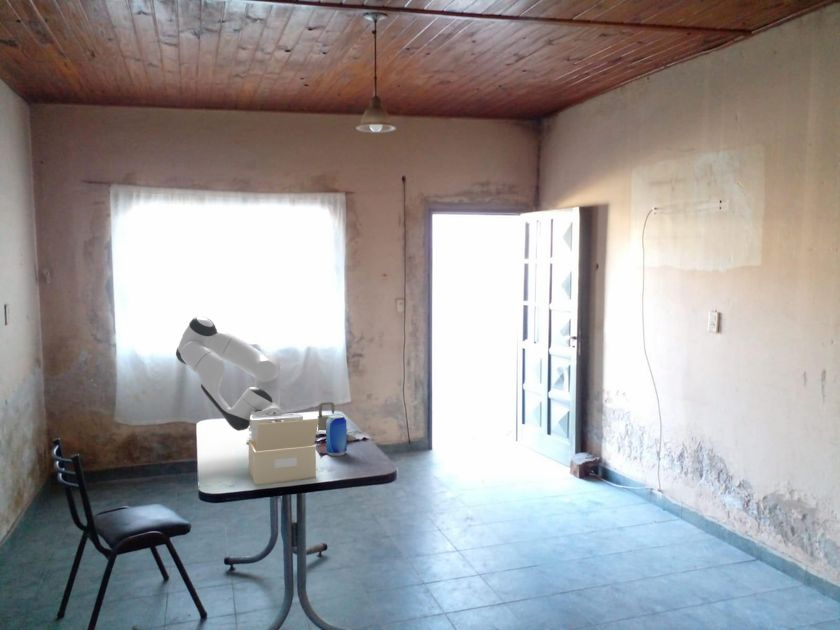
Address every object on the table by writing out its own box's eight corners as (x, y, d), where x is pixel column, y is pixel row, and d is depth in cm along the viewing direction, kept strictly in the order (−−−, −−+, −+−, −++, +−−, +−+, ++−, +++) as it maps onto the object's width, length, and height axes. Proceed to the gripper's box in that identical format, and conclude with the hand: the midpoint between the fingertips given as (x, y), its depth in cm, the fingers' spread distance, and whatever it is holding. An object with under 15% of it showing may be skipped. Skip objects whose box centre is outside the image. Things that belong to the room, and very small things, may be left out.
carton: (249, 470, 255) (248, 440, 254) (306, 464, 262) (305, 434, 262) (255, 485, 238) (254, 452, 237) (316, 478, 246) (315, 446, 245)
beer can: (332, 457, 272) (332, 419, 271) (322, 453, 279) (322, 415, 278) (350, 454, 277) (350, 416, 276) (340, 449, 284) (340, 412, 283)
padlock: (336, 433, 311) (335, 402, 310) (318, 434, 309) (318, 403, 308) (335, 431, 315) (334, 400, 314) (317, 432, 313) (317, 401, 312)
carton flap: (258, 423, 229) (258, 424, 229) (318, 418, 237) (318, 419, 236) (255, 449, 238) (255, 450, 237) (313, 443, 245) (314, 445, 245)
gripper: (299, 423, 267) (306, 431, 254) (247, 427, 259) (252, 435, 246) (299, 408, 266) (306, 415, 253) (247, 411, 258) (252, 419, 246)
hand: (279, 425), depth 250 cm, fingers closed
